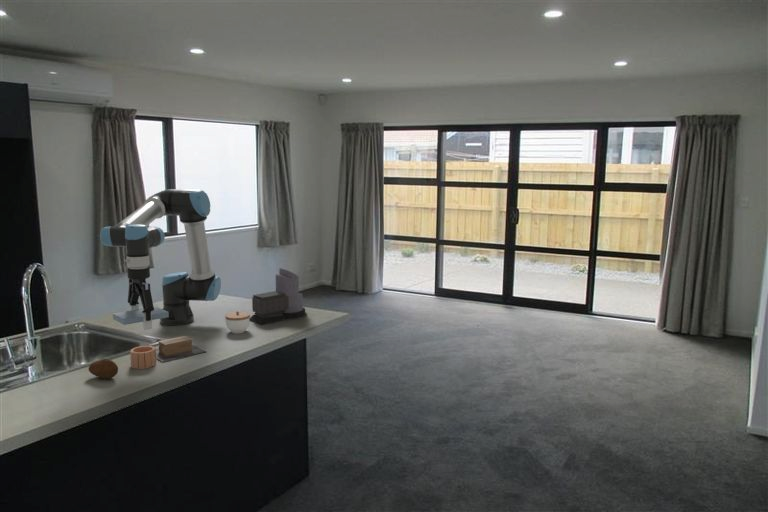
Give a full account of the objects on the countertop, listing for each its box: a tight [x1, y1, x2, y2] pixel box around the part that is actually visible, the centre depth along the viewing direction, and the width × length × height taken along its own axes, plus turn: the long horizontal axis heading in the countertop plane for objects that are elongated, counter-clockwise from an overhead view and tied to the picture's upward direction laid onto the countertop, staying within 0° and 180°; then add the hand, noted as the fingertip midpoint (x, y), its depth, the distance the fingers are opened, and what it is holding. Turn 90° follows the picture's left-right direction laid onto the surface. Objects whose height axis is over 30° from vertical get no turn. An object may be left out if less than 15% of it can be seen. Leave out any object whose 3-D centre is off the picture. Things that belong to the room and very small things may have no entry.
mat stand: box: [156, 335, 207, 363], centre depth 227 cm, size 16×18×5 cm
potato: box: [88, 358, 119, 380], centre depth 199 cm, size 7×12×7 cm, turn 77°
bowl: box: [129, 345, 157, 370], centre depth 212 cm, size 8×8×6 cm
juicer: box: [250, 267, 308, 326], centre depth 279 cm, size 30×16×24 cm, turn 137°
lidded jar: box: [224, 310, 251, 334], centre depth 255 cm, size 11×11×9 cm
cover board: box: [112, 306, 169, 326], centre depth 210 cm, size 11×16×2 cm
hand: (141, 325), depth 210 cm, fingers closed on cover board, 11 cm apart
